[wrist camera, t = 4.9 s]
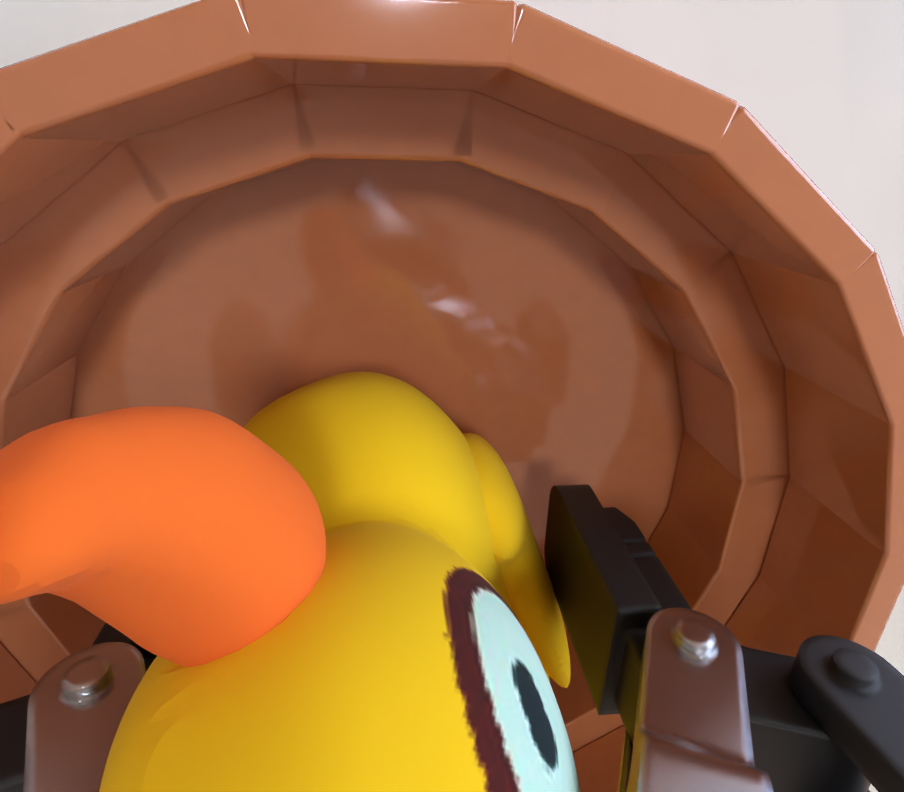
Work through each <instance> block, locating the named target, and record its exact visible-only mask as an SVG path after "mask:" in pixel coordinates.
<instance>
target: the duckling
mask: <svg viewBox="0 0 904 792" xmlns="http://www.w3.org/2000/svg"><path fill="white" fill-rule="evenodd" d="M43 593H50V594H53V595H57V596H60V597H63V598H65V599H68V600H70V601H73V602H75V603H77V604H78V605H80V606H81V607H83V608H85V609H86V610H88V611H89V612H91V613H92V614H94V615H95V616H97V617H98V618H100V619H101V620H103V621H104V622H106V623H108V624H109V625H111V626H112V627H114V628H115V629H117V630H118V631H120V632H121V633H123V634H124V635H125V636H127V637H128V638H130V639H131V640H132V641H134V642H135V643H136V644H138V645H139V646H141V647H142V648H144V649H146V650H147V651H149V652H151V653H153V654H155V655H157V657H156V658H155V660H154V661H153V662H152V664H151V665H150V667H149V668H148V670H147V672H146V673H145V675H144V676H143V678H142V680H141V682H140V683H139V685H138V687H137V689H136V691H135V692H134V694H133V696H132V698H131V700H130V702H129V704H128V706H127V708H126V711H125V713H124V715H123V717H122V720H121V722H120V724H119V727H118V729H117V732H116V735H115V737H114V740H113V743H112V746H111V749H110V752H109V755H108V759H107V762H106V765H105V769H104V773H103V777H102V781H101V785H100V790H99V792H580V787H579V781H578V776H577V771H576V766H575V761H574V757H573V753H572V749H571V745H570V741H569V737H568V734H567V731H566V727H565V724H564V721H563V718H562V715H561V712H560V709H559V706H558V703H557V700H556V698H555V695H554V692H553V690H552V687H551V685H550V680H549V676H550V677H551V678H552V679H553V680H554V681H555V682H556V683H557V684H558V685H560V686H561V687H563V688H567V687H568V685H569V683H570V674H571V671H570V655H569V648H568V642H567V636H566V631H565V627H564V623H563V619H562V615H561V612H560V608H559V605H558V603H557V600H556V597H555V594H554V590H553V587H552V583H551V580H550V577H549V574H548V572H547V569H546V566H545V563H544V560H543V557H542V555H541V552H540V549H539V546H538V544H537V541H536V538H535V535H534V532H533V530H532V527H531V524H530V521H529V519H528V516H527V514H526V511H525V509H524V506H523V504H522V501H521V499H520V496H519V494H518V491H517V489H516V487H515V484H514V482H513V480H512V478H511V476H510V474H509V472H508V470H507V468H506V466H505V464H504V463H503V461H502V459H501V458H500V456H499V455H498V453H497V452H496V451H495V450H494V448H493V447H492V446H491V445H490V444H489V443H488V442H487V441H486V440H485V439H484V438H482V437H481V436H479V435H477V434H474V433H463V434H462V432H461V431H460V430H459V428H458V427H457V426H456V425H455V423H454V422H453V421H452V420H451V419H450V418H449V417H448V416H447V415H446V414H445V412H444V411H443V410H442V409H441V408H440V407H439V406H438V405H436V404H435V403H434V402H433V401H432V400H431V399H430V398H428V397H427V396H426V395H425V394H423V393H422V392H421V391H419V390H418V389H416V388H415V387H413V386H411V385H409V384H408V383H406V382H404V381H402V380H399V379H397V378H394V377H391V376H388V375H384V374H380V373H374V372H347V373H342V374H338V375H334V376H331V377H328V378H325V379H322V380H319V381H316V382H313V383H311V384H308V385H306V386H303V387H301V388H299V389H297V390H294V391H292V392H290V393H288V394H286V395H284V396H282V397H280V398H278V399H277V400H275V401H273V402H272V403H270V404H269V405H268V406H266V407H265V408H263V409H262V410H260V411H259V412H258V413H257V414H256V415H255V416H254V417H252V418H251V419H250V420H249V422H248V423H247V424H246V425H245V426H244V427H241V426H240V425H238V424H237V423H235V422H233V421H231V420H229V419H228V418H226V417H223V416H221V415H219V414H216V413H213V412H211V411H207V410H203V409H198V408H190V407H178V406H142V407H131V408H123V409H118V410H112V411H107V412H103V413H98V414H94V415H90V416H85V417H79V418H73V419H69V420H64V421H61V422H57V423H53V424H50V425H48V426H45V427H42V428H40V429H37V430H34V431H32V432H29V433H27V434H25V435H24V436H22V437H20V438H18V439H17V440H15V441H13V442H12V443H10V444H9V445H7V446H6V447H4V448H2V449H1V450H0V604H6V603H10V602H13V601H16V600H20V599H23V598H27V597H30V596H34V595H38V594H43Z"/></svg>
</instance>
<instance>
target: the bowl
mask: <svg viewBox="0 0 904 792" xmlns="http://www.w3.org/2000/svg"><path fill="white" fill-rule="evenodd" d="M347 372H374V373H380V374H384V375H388V376H391V377H394V378H397V379H399V380H402V381H404V382H406V383H408V384H409V385H411V386H413V387H415V388H416V389H418V390H419V391H421V392H422V393H423V394H425V395H426V396H427V397H428V398H430V399H431V400H432V401H433V402H434V403H435V404H436V405H438V406H439V407H440V408H441V409H442V410H443V411H444V412H445V414H446V415H447V416H448V417H449V418H450V419H451V420H452V421H453V422H454V423H455V425H456V426H457V427H458V428H459V430H460V431H461V432H462V434H463V433H474V434H477V435H479V436H481V437H482V438H484V439H485V440H486V441H487V442H488V443H489V444H490V445H491V446H492V447H493V448H494V450H495V451H496V452H497V453H498V455H499V456H500V458H501V459H502V461H503V463H504V464H505V466H506V468H507V470H508V472H509V474H510V476H511V478H512V480H513V482H514V484H515V487H516V489H517V491H518V494H519V496H520V499H521V501H522V504H523V506H524V509H525V511H526V514H527V516H528V519H529V521H530V524H531V527H532V530H533V532H534V535H535V538H536V541H537V544H538V546H539V549H540V552H541V555H542V557H543V560H544V563H545V558H544V543H545V534H546V524H547V515H548V506H549V496H550V491H551V488H552V486H555V485H582V484H588V485H589V486H590V487H591V488H592V490H593V491H594V493H595V495H596V496H597V498H598V500H599V501H600V503H601V505H602V507H603V508H605V507H616V508H617V509H618V510H620V511H621V512H622V513H624V514H625V515H626V516H628V517H629V518H630V519H632V520H633V521H634V522H635V523H636V525H637V526H638V528H639V529H640V531H641V532H642V534H643V535H644V537H645V538H646V543H649V545H650V546H651V548H652V549H653V551H654V552H655V556H656V557H658V558H659V560H660V561H661V563H662V564H663V566H664V568H665V569H666V571H667V572H668V574H669V575H670V577H671V578H672V580H673V581H674V583H675V584H676V586H677V587H678V589H679V591H680V592H681V594H682V595H683V597H684V598H685V600H686V601H687V603H688V604H689V606H690V607H691V609H692V610H695V611H698V612H701V613H704V614H706V615H708V616H710V617H712V618H714V619H716V620H717V621H719V622H720V623H721V624H723V625H724V626H725V627H726V628H727V629H729V630H730V632H731V633H732V634H733V635H734V636H735V638H736V639H737V641H738V642H739V644H740V645H741V646H744V647H748V648H752V649H757V650H762V651H767V652H772V653H777V654H782V655H787V656H792V657H796V655H797V653H798V650H799V647H800V645H801V643H802V642H803V641H804V640H806V639H807V638H809V637H813V636H818V635H830V636H836V637H840V638H844V639H848V640H850V641H853V642H856V643H858V644H860V645H862V646H864V647H866V648H868V649H870V650H872V651H873V652H875V649H876V647H877V645H878V642H879V640H880V638H881V635H882V633H883V631H884V629H885V626H886V624H887V622H888V619H889V617H890V615H891V612H892V610H893V608H894V606H895V603H896V601H897V599H898V596H899V594H900V592H901V590H902V587H903V585H904V329H903V326H902V323H901V320H900V317H899V314H898V311H897V308H896V305H895V302H894V299H893V297H892V294H891V291H890V288H889V285H888V282H887V279H886V276H885V273H884V270H883V267H882V264H881V261H880V258H879V256H878V254H877V253H875V251H874V248H873V247H872V246H871V245H870V244H869V243H868V242H867V240H866V239H865V238H864V237H863V236H862V235H861V234H860V233H859V232H858V231H857V230H856V228H855V227H854V226H853V225H852V224H851V223H850V222H849V221H848V220H847V219H846V218H845V216H844V215H843V214H842V213H841V212H840V211H839V210H838V209H837V208H836V207H835V206H834V204H833V203H832V202H831V201H830V200H829V199H828V198H827V197H826V196H825V195H824V194H823V192H822V191H821V190H820V189H819V188H818V187H817V186H816V185H815V184H814V183H813V182H812V180H811V179H810V178H809V177H808V176H807V175H806V174H805V173H804V172H803V171H802V169H801V168H800V167H799V166H798V165H797V164H796V163H795V162H794V161H793V160H792V159H791V157H790V156H789V155H788V154H787V153H786V152H785V151H784V150H783V149H782V148H781V147H780V145H779V144H778V143H777V142H776V141H775V140H774V139H773V138H772V137H771V136H770V135H769V133H768V132H767V131H766V130H765V129H764V128H763V127H762V126H761V125H760V124H759V123H758V121H757V120H756V119H755V118H754V117H753V116H752V115H751V114H750V113H749V112H748V111H747V109H746V108H745V107H742V106H739V104H738V103H737V102H736V101H735V100H733V99H731V98H729V97H727V96H724V95H722V94H720V93H718V92H716V91H714V90H711V89H709V88H707V87H705V86H703V85H700V84H698V83H696V82H694V81H692V80H690V79H687V78H685V77H683V76H681V75H679V74H676V73H674V72H672V71H670V70H668V69H665V68H663V67H661V66H659V65H657V64H655V63H652V62H650V61H648V60H646V59H644V58H641V57H639V56H637V55H635V54H633V53H631V52H628V51H626V50H624V49H622V48H620V47H617V46H615V45H613V44H611V43H609V42H606V41H604V40H602V39H600V38H598V37H596V36H593V35H591V34H589V33H587V32H585V31H582V30H580V29H578V28H576V27H574V26H572V25H569V24H567V23H565V22H563V21H561V20H558V19H556V18H554V17H552V16H550V15H547V14H545V13H543V12H541V11H539V10H537V9H534V8H532V7H530V6H528V5H526V4H519V5H518V6H517V4H516V2H514V1H512V0H199V1H196V2H193V3H190V4H187V5H184V6H181V7H178V8H175V9H172V10H169V11H166V12H163V13H161V14H158V15H155V16H152V17H149V18H146V19H143V20H140V21H137V22H134V23H131V24H128V25H125V26H122V27H120V28H117V29H114V30H111V31H108V32H105V33H102V34H99V35H96V36H93V37H90V38H87V39H84V40H81V41H78V42H76V43H73V44H70V45H67V46H64V47H61V48H58V49H55V50H52V51H49V52H46V53H43V54H40V55H37V56H35V57H32V58H29V59H26V60H23V61H20V62H17V63H14V64H11V65H8V66H5V67H2V68H0V450H1V449H2V448H4V447H6V446H7V445H9V444H10V443H12V442H13V441H15V440H17V439H18V438H20V437H22V436H24V435H25V434H27V433H29V432H32V431H34V430H37V429H40V428H42V427H45V426H48V425H50V424H53V423H57V422H61V421H64V420H69V419H73V418H79V417H85V416H90V415H94V414H98V413H103V412H107V411H112V410H118V409H123V408H131V407H142V406H178V407H190V408H198V409H203V410H207V411H211V412H213V413H216V414H219V415H221V416H223V417H226V418H228V419H229V420H231V421H233V422H235V423H237V424H238V425H240V426H241V427H244V426H245V425H246V424H247V423H248V422H249V420H250V419H251V418H252V417H254V416H255V415H256V414H257V413H258V412H259V411H260V410H262V409H263V408H265V407H266V406H268V405H269V404H270V403H272V402H273V401H275V400H277V399H278V398H280V397H282V396H284V395H286V394H288V393H290V392H292V391H294V390H297V389H299V388H301V387H303V386H306V385H308V384H311V383H313V382H316V381H319V380H322V379H325V378H328V377H331V376H334V375H338V374H342V373H347ZM560 612H561V611H560ZM561 615H562V614H561ZM562 619H563V616H562ZM105 623H106V622H104V621H103V620H101V619H100V618H98V617H97V616H95V615H94V614H92V613H91V612H89V611H88V610H86V609H85V608H83V607H81V606H80V605H78V604H77V603H75V602H73V601H70V600H68V599H65V598H63V597H60V596H57V595H53V594H50V593H43V594H38V595H34V596H30V597H27V598H23V599H20V600H16V601H13V602H10V603H6V604H0V704H1V703H4V702H8V701H11V700H14V699H17V698H20V697H23V696H26V695H29V694H31V692H32V690H33V688H34V687H35V685H36V684H37V682H38V681H39V680H40V678H41V677H42V676H43V675H44V674H45V673H46V672H47V671H48V670H49V669H50V668H51V667H53V666H54V665H55V664H56V663H58V662H59V661H61V660H62V659H64V658H65V657H67V656H69V655H71V654H72V653H74V652H76V651H79V650H81V649H83V648H86V647H89V646H92V644H93V643H94V641H95V639H96V638H97V636H98V634H99V633H100V631H101V629H102V628H103V626H104V624H105ZM563 623H564V627H565V631H566V636H567V642H568V648H569V655H570V671H571V674H570V683H569V685H568V687H567V688H563V687H561V686H560V685H558V684H557V683H556V682H555V681H554V680H553V679H552V678H551V677H550V676H549V680H550V685H551V687H552V690H553V692H554V695H555V698H556V700H557V703H558V706H559V709H560V712H561V715H562V718H563V721H564V724H565V727H566V731H567V734H568V737H569V741H570V745H571V749H572V753H573V757H574V761H575V766H576V771H577V776H578V781H579V787H580V792H617V789H618V780H619V771H620V762H621V753H622V744H623V739H624V735H625V730H626V728H625V726H624V723H623V721H622V718H621V716H620V714H610V715H598V712H597V709H596V706H595V704H594V701H593V698H592V695H591V693H590V690H589V687H588V685H587V682H586V679H585V676H584V674H583V671H582V668H581V665H580V663H579V660H578V657H577V654H576V652H575V649H574V646H573V644H572V641H571V638H570V635H569V633H568V630H567V627H566V624H565V622H564V619H563Z"/></svg>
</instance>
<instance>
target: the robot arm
mask: <svg viewBox="0 0 904 792" xmlns="http://www.w3.org/2000/svg"><path fill="white" fill-rule="evenodd" d="M544 558H545V566H546V569H547V572H548V574H549V577H550V580H551V583H552V587H553V590H554V594H555V597H556V600H557V603H558V605H559V608H560V611H561V614H562V616H563V619H564V622H565V624H566V627H567V630H568V633H569V635H570V638H571V641H572V644H573V646H574V649H575V652H576V654H577V657H578V660H579V663H580V665H581V668H582V671H583V674H584V676H585V679H586V682H587V685H588V687H589V690H590V693H591V695H592V698H593V701H594V704H595V706H596V709H597V712H598V715H610V714H620V716H621V718H622V721H623V723H624V726H625V728H626V730H625V735H624V739H623V744H622V753H621V762H620V771H619V780H618V789H617V792H870V791H869V790H868V788H869V786H870V784H872V785H873V786H874V787H875V788H876V790H877V791H878V792H904V676H903V675H902V674H901V673H900V672H899V671H898V670H896V669H895V668H894V667H893V666H892V665H891V664H890V663H888V662H887V661H886V660H885V659H884V658H882V657H881V656H879V655H878V654H876V653H875V652H873V651H872V650H870V649H868V648H866V647H864V646H862V645H860V644H858V643H856V642H853V641H850V640H848V639H844V638H840V637H836V636H830V635H818V636H813V637H809V638H807V639H806V640H804V641H803V642H802V643H801V645H800V647H799V650H798V653H797V655H796V657H792V656H787V655H782V654H777V653H772V652H767V651H762V650H757V649H752V648H748V647H744V646H741V645H740V644H739V642H738V641H737V639H736V638H735V636H734V635H733V634H732V633H731V632H730V630H729V629H727V628H726V627H725V626H724V625H723V624H721V623H720V622H719V621H717V620H716V619H714V618H712V617H710V616H708V615H706V614H704V613H701V612H698V611H695V610H692V609H691V607H690V606H689V604H688V603H687V601H686V600H685V598H684V597H683V595H682V594H681V592H680V591H679V589H678V587H677V586H676V584H675V583H674V581H673V580H672V578H671V577H670V575H669V574H668V572H667V571H666V569H665V568H664V566H663V564H662V563H661V561H660V560H659V558H658V557H656V556H655V552H654V551H653V549H652V548H651V546H650V545H649V543H646V538H645V537H644V535H643V534H642V532H641V531H640V529H639V528H638V526H637V525H636V523H635V522H634V521H633V520H632V519H630V518H629V517H628V516H626V515H625V514H624V513H622V512H621V511H620V510H618V509H617V508H616V507H605V508H603V507H602V505H601V503H600V501H599V500H598V498H597V496H596V495H595V493H594V491H593V490H592V488H591V487H590V486H589V485H588V484H582V485H555V486H552V488H551V491H550V496H549V506H548V515H547V524H546V534H545V543H544ZM156 657H157V655H155V654H153V653H151V652H149V651H147V650H146V649H144V648H142V647H141V646H139V645H138V644H136V643H135V642H134V641H132V640H131V639H130V638H128V637H127V636H125V635H124V634H123V633H121V632H120V631H118V630H117V629H115V628H114V627H112V626H111V625H109V624H108V623H105V624H104V626H103V628H102V629H101V631H100V633H99V634H98V636H97V638H96V639H95V641H94V643H93V644H92V646H89V647H86V648H83V649H81V650H79V651H76V652H74V653H72V654H71V655H69V656H67V657H65V658H64V659H62V660H61V661H59V662H58V663H56V664H55V665H54V666H53V667H51V668H50V669H49V670H48V671H47V672H46V673H45V674H44V675H43V676H42V677H41V678H40V680H39V681H38V682H37V684H36V685H35V687H34V688H33V690H32V692H31V694H29V695H26V696H23V697H20V698H17V699H14V700H11V701H8V702H4V703H1V704H0V792H99V790H100V785H101V781H102V777H103V773H104V769H105V765H106V762H107V759H108V755H109V752H110V749H111V746H112V743H113V740H114V737H115V735H116V732H117V729H118V727H119V724H120V722H121V720H122V717H123V715H124V713H125V711H126V708H127V706H128V704H129V702H130V700H131V698H132V696H133V694H134V692H135V691H136V689H137V687H138V685H139V683H140V682H141V680H142V678H143V676H144V675H145V673H146V672H147V670H148V668H149V667H150V665H151V664H152V662H153V661H154V660H155V658H156Z"/></svg>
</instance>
